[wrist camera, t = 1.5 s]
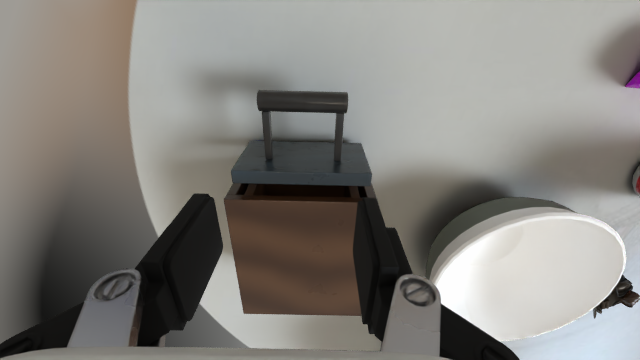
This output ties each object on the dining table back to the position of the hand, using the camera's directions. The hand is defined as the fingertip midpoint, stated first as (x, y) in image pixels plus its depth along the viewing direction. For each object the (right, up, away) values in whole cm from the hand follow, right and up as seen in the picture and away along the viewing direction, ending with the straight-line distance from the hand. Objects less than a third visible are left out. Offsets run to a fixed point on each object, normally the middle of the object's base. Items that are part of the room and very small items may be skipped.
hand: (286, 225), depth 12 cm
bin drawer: (0, +3, +18) cm, 18 cm away
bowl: (+22, -5, +23) cm, 32 cm away
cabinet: (0, -2, +21) cm, 21 cm away
